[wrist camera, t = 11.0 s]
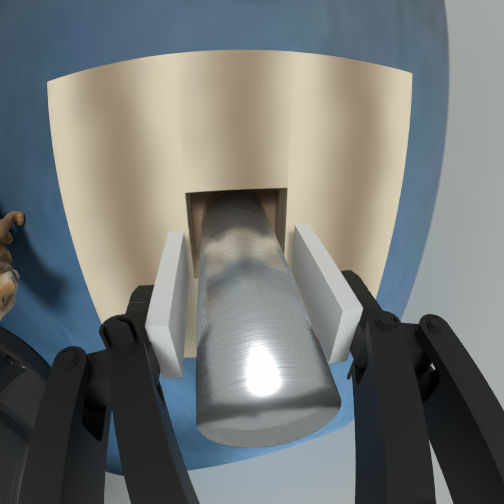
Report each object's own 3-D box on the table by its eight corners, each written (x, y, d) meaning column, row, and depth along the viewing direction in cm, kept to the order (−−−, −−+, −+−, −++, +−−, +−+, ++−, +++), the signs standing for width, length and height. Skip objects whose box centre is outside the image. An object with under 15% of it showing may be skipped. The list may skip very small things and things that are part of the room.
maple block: (125, 324, 24) (117, 357, 20) (77, 81, 14) (47, 81, 10) (346, 307, 26) (362, 338, 23) (378, 73, 16) (412, 73, 12)
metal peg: (204, 244, 20) (206, 451, 8) (200, 188, 18) (184, 390, 6) (263, 241, 20) (325, 436, 8) (264, 184, 18) (357, 368, 6)
